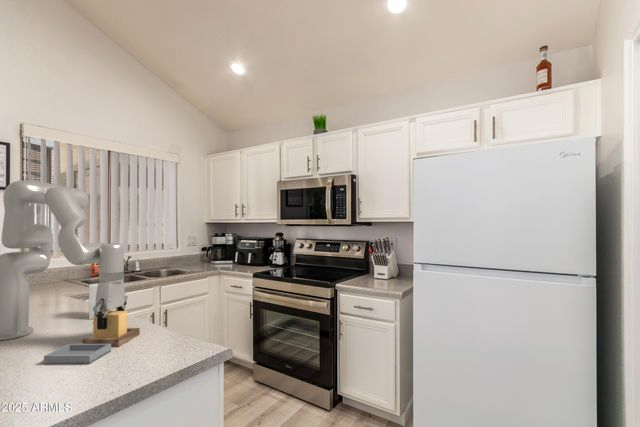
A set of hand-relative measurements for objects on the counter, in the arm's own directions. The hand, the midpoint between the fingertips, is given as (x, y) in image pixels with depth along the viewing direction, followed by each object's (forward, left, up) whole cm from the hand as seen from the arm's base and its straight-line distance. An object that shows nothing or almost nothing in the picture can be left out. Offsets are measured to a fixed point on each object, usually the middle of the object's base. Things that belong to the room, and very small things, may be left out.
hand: (111, 324), depth 116 cm
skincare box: (-27, +31, -6) cm, 42 cm away
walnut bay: (0, 0, -6) cm, 6 cm away
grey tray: (0, -15, -6) cm, 16 cm away
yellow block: (0, 0, -6) cm, 6 cm away
